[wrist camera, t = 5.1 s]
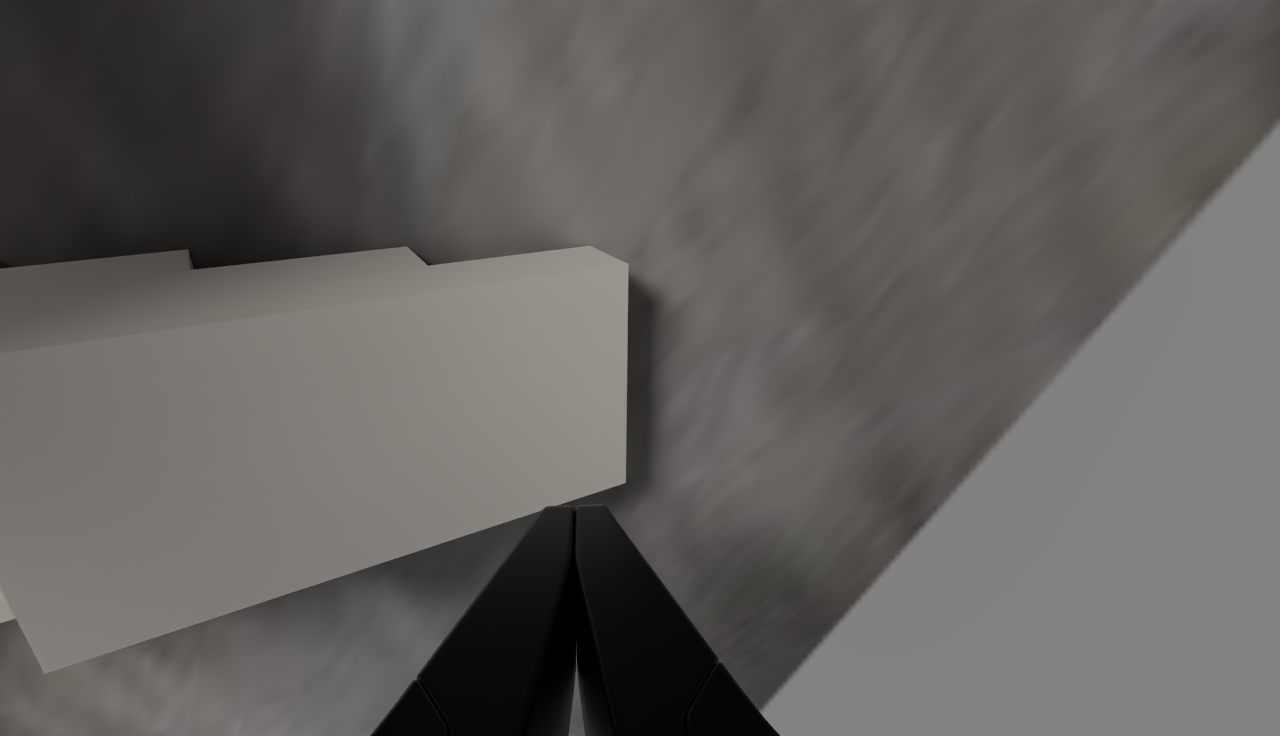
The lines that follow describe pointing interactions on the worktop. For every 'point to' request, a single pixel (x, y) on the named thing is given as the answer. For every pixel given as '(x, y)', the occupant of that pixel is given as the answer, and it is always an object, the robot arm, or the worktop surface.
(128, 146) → the worktop surface
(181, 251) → the domino
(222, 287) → the domino
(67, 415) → the domino
